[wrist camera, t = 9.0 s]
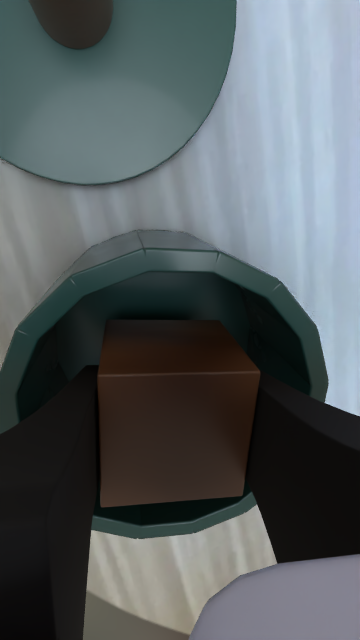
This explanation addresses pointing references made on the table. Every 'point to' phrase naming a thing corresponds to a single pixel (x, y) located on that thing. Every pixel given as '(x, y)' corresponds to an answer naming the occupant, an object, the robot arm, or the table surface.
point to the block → (173, 411)
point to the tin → (157, 304)
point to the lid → (107, 83)
